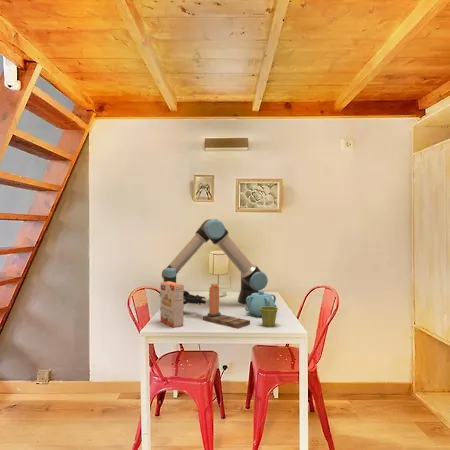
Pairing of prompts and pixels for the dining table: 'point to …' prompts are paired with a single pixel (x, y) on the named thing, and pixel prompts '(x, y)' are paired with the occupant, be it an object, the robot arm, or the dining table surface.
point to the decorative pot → (259, 302)
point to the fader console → (227, 320)
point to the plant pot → (268, 315)
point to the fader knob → (214, 300)
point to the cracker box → (172, 303)
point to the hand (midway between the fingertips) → (211, 302)
